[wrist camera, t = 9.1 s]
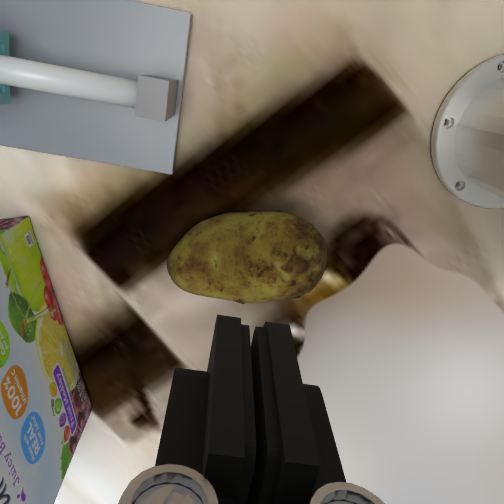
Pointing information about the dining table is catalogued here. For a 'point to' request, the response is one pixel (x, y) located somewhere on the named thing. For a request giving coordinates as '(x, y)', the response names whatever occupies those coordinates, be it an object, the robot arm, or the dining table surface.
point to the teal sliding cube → (1, 47)
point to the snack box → (34, 375)
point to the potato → (249, 257)
